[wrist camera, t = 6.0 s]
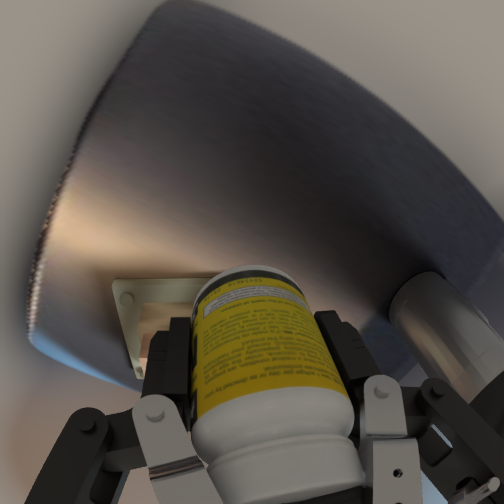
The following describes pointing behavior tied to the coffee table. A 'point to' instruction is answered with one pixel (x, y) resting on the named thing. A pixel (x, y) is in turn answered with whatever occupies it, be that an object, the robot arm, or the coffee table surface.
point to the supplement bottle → (267, 393)
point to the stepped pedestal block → (151, 310)
